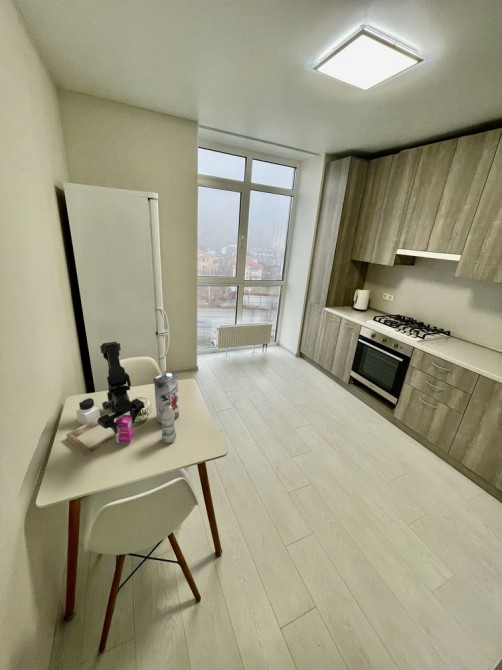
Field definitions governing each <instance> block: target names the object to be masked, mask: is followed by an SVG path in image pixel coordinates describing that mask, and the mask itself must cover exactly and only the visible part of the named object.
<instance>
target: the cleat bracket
mask: <svg viewBox="0 0 502 670" xmlns="http://www.w3.org/2000/svg"><path fill="white" fill-rule="evenodd" d="M106 414H107V413H105V414H103V415H100V417H102V416H104V415H106ZM100 417H99V418H100ZM97 420H98V418H97V419H95V420H93V421H91V422H89V423H87V424H85V425H83V424H82V425H81V426H79V427H77V428H75V429H74V430H71V431H69V432H67V433H66V438H67V440H68V441H69V442H70V443H71V444H72V445H74V447H76V448H77V449H78V450H79V451H81V452H82V454H84V455H85V456H88V455H90V454H91V453H92V452H93V451H95V450H97V449H99V448H100V447H102V446H103V445H105V444H107V443H109V442H110V441H112V440H113V439H116V434H115V433H114V432H113V433H112V434H111V435H109V436H107V437H105V438H104V439H102V440H100V441H99V442H97V443H95V444H93V445H92V446H88V445H87V444H85V443H84V442H83V441H81V439H79V438H78V437H79V436H81V435H83V434H85V433H87V432H88V431H90V430H93V429H94V428H96V427H97V426H100V425H99V424H98V421H97Z"/></svg>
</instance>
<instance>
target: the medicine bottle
mask: <svg viewBox="0 0 502 670" xmlns="http://www.w3.org/2000/svg"><path fill="white" fill-rule="evenodd" d="M78 405H79V408H78V409H77V410H76V417H77V422H78V423H79V424H81V425H82V426H83V425H85V424H87V423H89V422H91V421H93V420H95V419H97V418H99V417H101V411H100V407H99V406H97V405H95V400H94V399H93V398H92V397H91V398H90V397H88V398H84V399H81V400H80V401H79V403H78Z"/></svg>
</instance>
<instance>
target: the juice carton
mask: <svg viewBox="0 0 502 670" xmlns="http://www.w3.org/2000/svg"><path fill="white" fill-rule="evenodd" d="M178 377H179V375H178V373H175V372H172V371H167V370H165V371H163V372H162V373H161V374H160V375H157V376H155V377H154V378H153V384H154V396H155V408H156V410H155V411H156V421H157V423H160V424H162V423H161V419H160V413H161V411H162V410H163V409H162V407H163V403H165V402H170V403H171V408H172V409H173V410H174V412H175V417H174V421H175V420H177V419H178V418H179V417H180V415H179V414H180V410H179V408H180V406H179V405H180V404H179V385H178V382H179V381H178Z"/></svg>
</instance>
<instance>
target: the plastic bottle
mask: <svg viewBox="0 0 502 670" xmlns="http://www.w3.org/2000/svg"><path fill="white" fill-rule="evenodd" d="M162 409H163V410H162V411H161V413H160V419H161V423H160V424H161V435H160V436H161V441H162V442H163V443H164V444H172V443H174V442H175V440H176V439H177V432H176V430H175V429H176V428H175V420H174V417H175V412H174V410H173V409H172V408H171V403H170V402H165V403H163V407H162Z"/></svg>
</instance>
